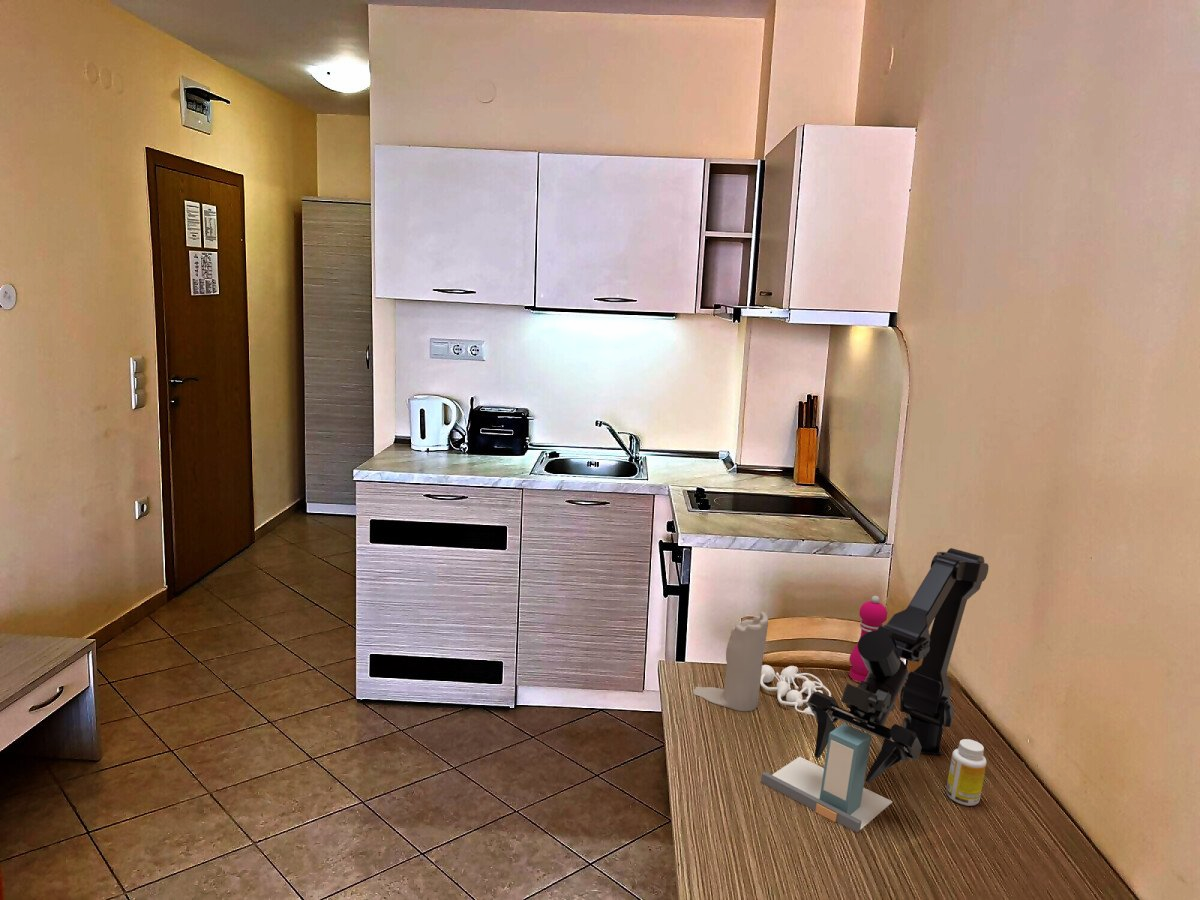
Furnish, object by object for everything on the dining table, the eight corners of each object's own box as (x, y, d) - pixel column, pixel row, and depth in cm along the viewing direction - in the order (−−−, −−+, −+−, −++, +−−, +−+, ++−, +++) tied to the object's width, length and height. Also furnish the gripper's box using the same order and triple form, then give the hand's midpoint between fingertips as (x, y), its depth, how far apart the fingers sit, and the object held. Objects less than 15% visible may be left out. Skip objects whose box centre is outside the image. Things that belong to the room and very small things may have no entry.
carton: (833, 793, 148) (843, 723, 146) (860, 806, 145) (871, 735, 143) (818, 804, 144) (829, 733, 142) (845, 818, 141) (857, 745, 139)
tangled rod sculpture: (852, 725, 178) (856, 707, 177) (790, 724, 174) (795, 705, 173) (805, 679, 196) (809, 662, 196) (748, 677, 192) (752, 660, 191)
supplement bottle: (986, 803, 151) (996, 750, 149) (963, 809, 149) (973, 755, 147) (960, 786, 156) (970, 734, 154) (938, 791, 154) (947, 739, 152)
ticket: (815, 815, 143) (817, 803, 142) (835, 825, 140) (837, 813, 140) (814, 815, 143) (816, 803, 142) (834, 826, 140) (836, 814, 140)
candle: (698, 683, 188) (708, 596, 184) (761, 701, 182) (772, 611, 178) (687, 696, 181) (697, 606, 178) (751, 715, 176) (764, 622, 172)
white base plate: (798, 762, 159) (800, 748, 159) (891, 807, 148) (894, 793, 147) (760, 788, 150) (762, 773, 149) (856, 839, 138) (858, 823, 138)
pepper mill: (881, 688, 193) (894, 603, 189) (848, 683, 195) (860, 598, 191) (877, 674, 200) (890, 592, 196) (845, 669, 202) (858, 588, 198)
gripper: (820, 646, 149) (777, 725, 143) (925, 687, 137) (884, 775, 131) (835, 676, 156) (796, 753, 151) (937, 717, 144) (899, 802, 138)
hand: (841, 769), depth 142 cm, fingers open, 9 cm apart
